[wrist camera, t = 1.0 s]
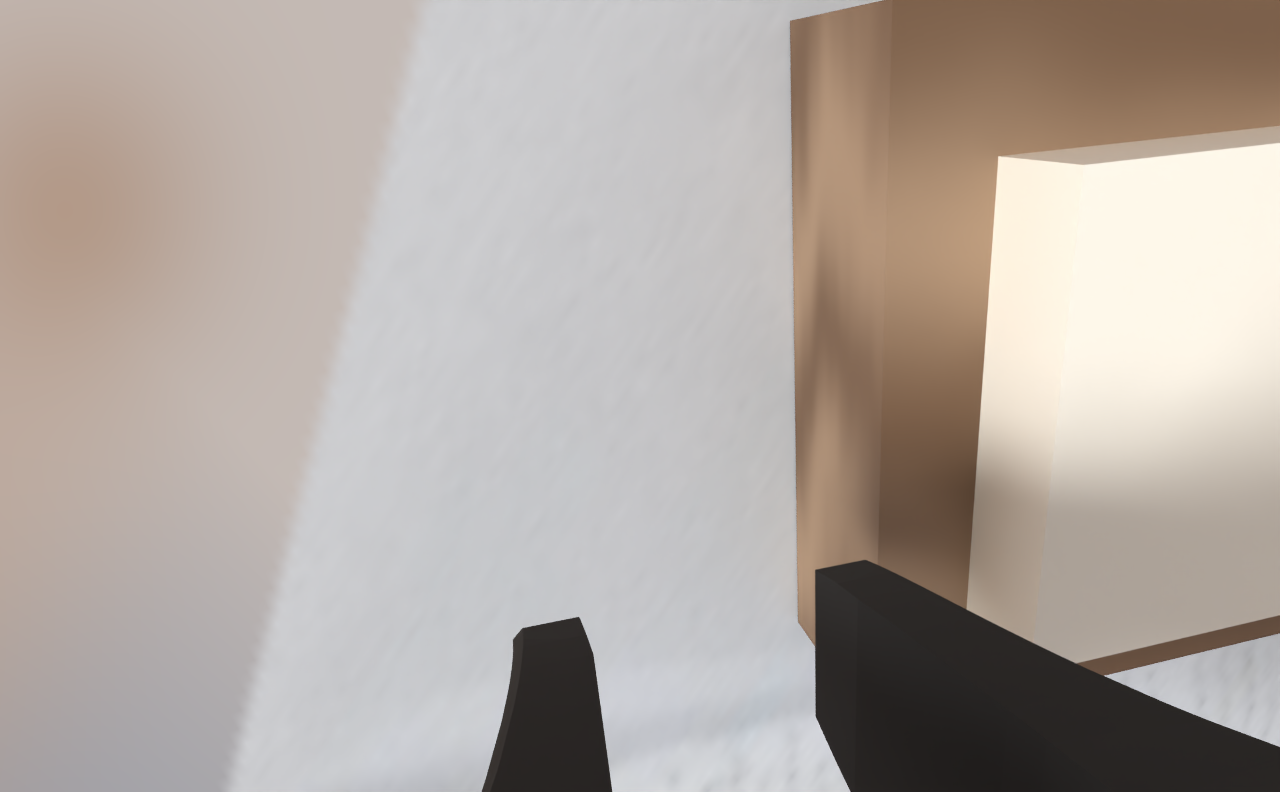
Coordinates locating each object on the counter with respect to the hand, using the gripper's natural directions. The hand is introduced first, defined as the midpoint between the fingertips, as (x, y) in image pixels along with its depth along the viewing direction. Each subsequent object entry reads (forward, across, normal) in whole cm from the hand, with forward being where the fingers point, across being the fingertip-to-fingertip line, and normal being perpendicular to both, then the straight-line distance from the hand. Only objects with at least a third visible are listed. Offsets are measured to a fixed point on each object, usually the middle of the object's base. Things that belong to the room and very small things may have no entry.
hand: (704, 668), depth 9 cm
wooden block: (+9, -11, 0) cm, 14 cm away
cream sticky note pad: (+5, -10, 0) cm, 11 cm away
